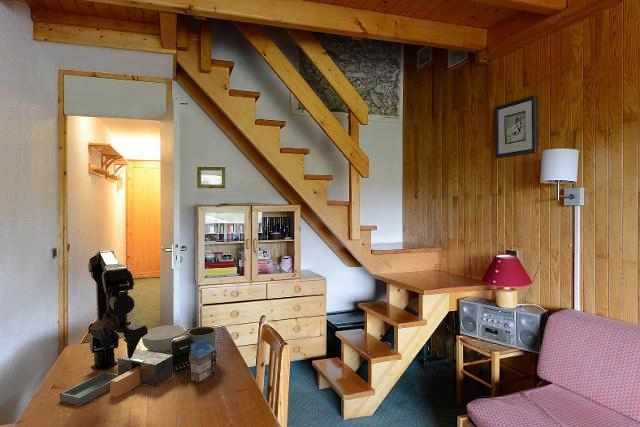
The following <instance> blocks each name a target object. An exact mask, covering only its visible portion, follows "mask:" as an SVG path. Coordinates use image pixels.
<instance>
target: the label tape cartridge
mask: <svg viewBox="0 0 640 427" xmlns="http://www.w3.org/2000/svg"><path fill="white" fill-rule="evenodd" d="M199 343H200V344H201V343H202V345H200V346H198V347H197V345H199ZM216 373H217V349H216V348H215V347H214V348H213V347H212V346H211V345H209V344H208V337H206V338H204V339H202V340H200V341H197V342H195V343H193V344H191V364H190V379H191V380H190V381H193V382H195V383H196V382H197V383H201V382H203V381H204V380H206V379H208V378H209V377H210V376H213V375H214V374H216Z"/></svg>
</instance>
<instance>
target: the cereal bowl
mask: <svg viewBox="0 0 640 427" xmlns="http://www.w3.org/2000/svg"><path fill="white" fill-rule="evenodd" d="M147 330H148V334H146V335H144V337H142V338H141V342H142V345H143V346H144V348H146V349H148V350H149V351H151V352H156V353H167V352H170V343H171V341H172V340H173V339H175V338H178V337H182V336H186V335H187V334H186V328H185V327H184V326H182V325H162V326H157V327H153V328H150V329H147Z"/></svg>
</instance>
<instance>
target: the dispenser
mask: <svg viewBox="0 0 640 427" xmlns="http://www.w3.org/2000/svg"><path fill="white" fill-rule="evenodd" d="M172 357H173V355H170V354H169V353H168V354H167V353H163V352H156V351H151V350H149V351H148V350H142V349H137V348H136V349H135V351H134V353H133V356H132V358H130V359H129V358H128V354H127V353H124V354H122V355H121V356H118V357H117V358H116V360H117V362H118V363H117V374H118V375H122V374H124V373H126V372H128V371H130V370H132V369H134V368H136V367H137V366H139V365H140V366H141V383H140V384H141V385H143V386H149V387H153V388H157V387H158V386H160V385H162V384H164V383H165V382H167V381H168V380H170V379H172V377H173V375H174V374H173V371H172Z"/></svg>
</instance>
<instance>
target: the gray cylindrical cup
mask: <svg viewBox="0 0 640 427" xmlns="http://www.w3.org/2000/svg"><path fill="white" fill-rule="evenodd" d="M187 337H188V338H190V340H191V344H193V343H195V342H197V341H200V340H202V339H204V338H206V337H208V344H209V345H211V346H212V347H213V348H215V347H216V346H215V345H216V328H215V327H213V326H203V325H202V326H197V327H192V328H191V329H189V330H188V331H187ZM200 345H202V343H201V344H200V343H199V345H197V347H198V346H200ZM189 360H190V365H191V351H190V354H189Z"/></svg>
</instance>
